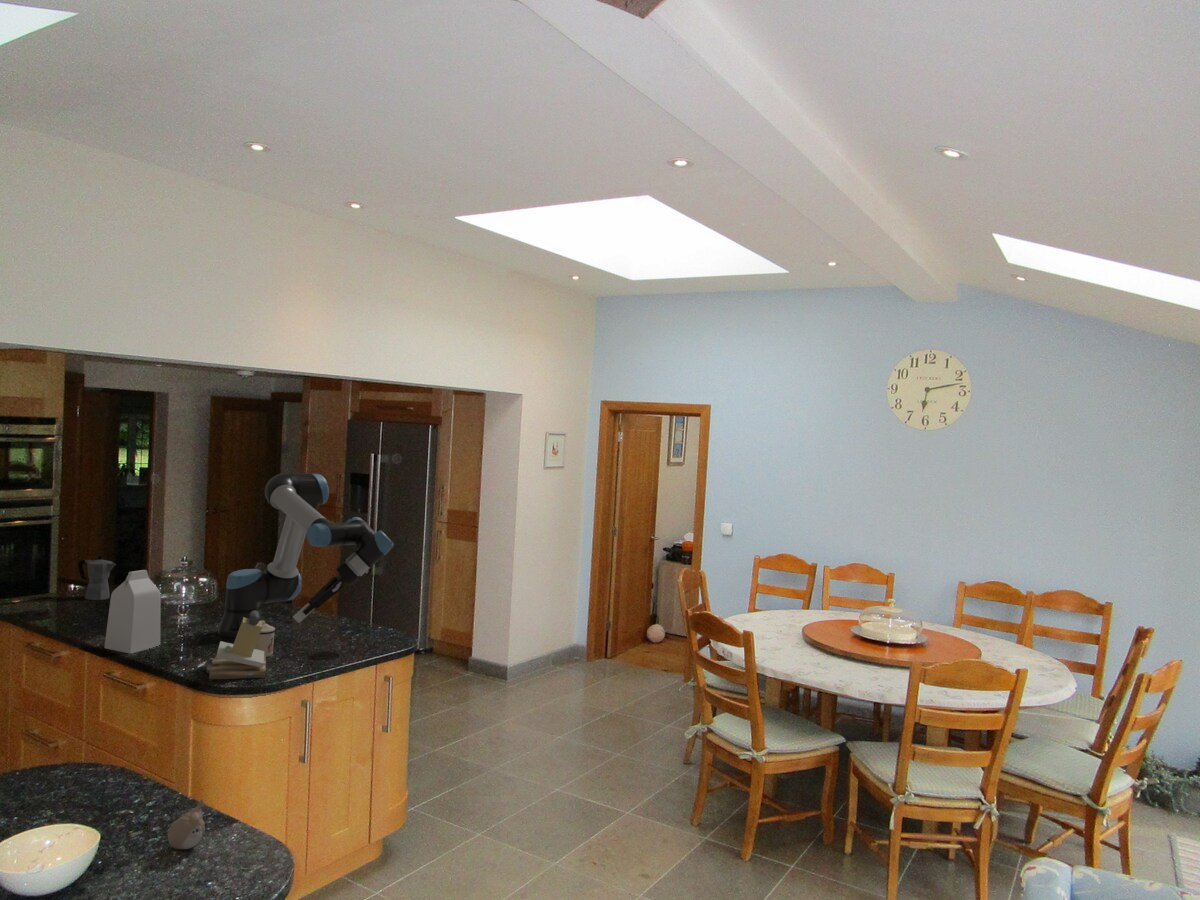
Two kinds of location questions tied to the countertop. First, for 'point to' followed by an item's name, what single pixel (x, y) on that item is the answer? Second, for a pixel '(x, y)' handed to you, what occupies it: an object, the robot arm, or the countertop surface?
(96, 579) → the coffeepot
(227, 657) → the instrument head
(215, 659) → the brown layered stack
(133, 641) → the milk
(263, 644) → the teacup with lid
